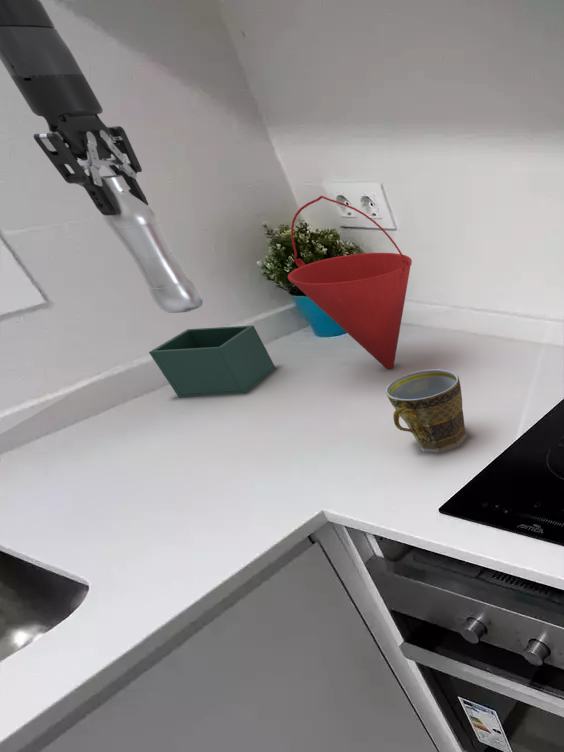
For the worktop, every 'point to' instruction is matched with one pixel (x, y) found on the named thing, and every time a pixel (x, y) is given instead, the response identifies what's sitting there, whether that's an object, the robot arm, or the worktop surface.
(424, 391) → the ceramic cup
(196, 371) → the bin
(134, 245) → the plastic bottle
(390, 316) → the fire bucket
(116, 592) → the worktop surface
